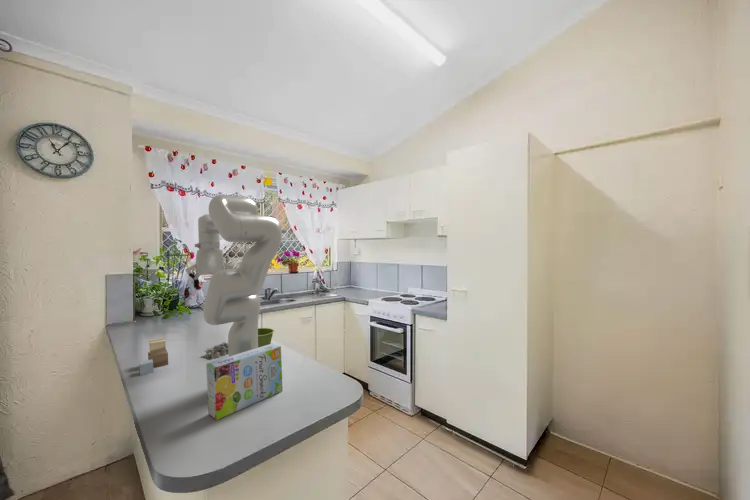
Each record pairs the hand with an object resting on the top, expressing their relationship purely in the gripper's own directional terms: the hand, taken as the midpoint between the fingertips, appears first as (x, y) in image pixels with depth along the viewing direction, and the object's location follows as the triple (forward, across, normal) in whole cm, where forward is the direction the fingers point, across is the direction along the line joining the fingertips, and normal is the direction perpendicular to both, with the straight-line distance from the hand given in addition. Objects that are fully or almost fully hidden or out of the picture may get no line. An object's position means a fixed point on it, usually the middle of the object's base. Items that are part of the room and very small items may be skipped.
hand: (210, 288), depth 127 cm
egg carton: (+31, +4, +7) cm, 32 cm away
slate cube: (+30, -22, +4) cm, 38 cm away
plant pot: (+31, +16, -10) cm, 36 cm away
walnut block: (+30, -18, +10) cm, 37 cm away
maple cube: (+25, -18, +10) cm, 33 cm away
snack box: (+31, +1, -44) cm, 54 cm away
